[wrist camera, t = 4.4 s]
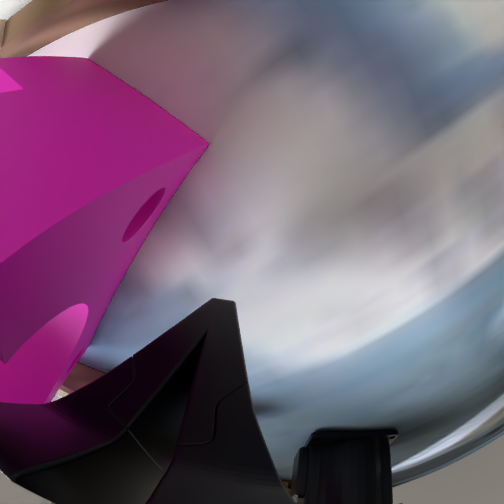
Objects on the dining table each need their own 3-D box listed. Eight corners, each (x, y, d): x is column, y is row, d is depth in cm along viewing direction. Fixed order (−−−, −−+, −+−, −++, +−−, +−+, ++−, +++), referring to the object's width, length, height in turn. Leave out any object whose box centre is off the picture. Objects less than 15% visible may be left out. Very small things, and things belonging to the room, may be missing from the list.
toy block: (87, 58, 7) (-96, 80, 1) (209, 143, 8) (-13, 274, 2) (23, 286, 14) (-44, 356, 7) (88, 346, 15) (31, 433, 9)
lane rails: (252, -39, 5) (232, -85, 2) (241, 418, 16) (232, 456, 13) (-53, 103, 8) (-79, 113, 5) (9, 333, 19) (-7, 351, 16)
